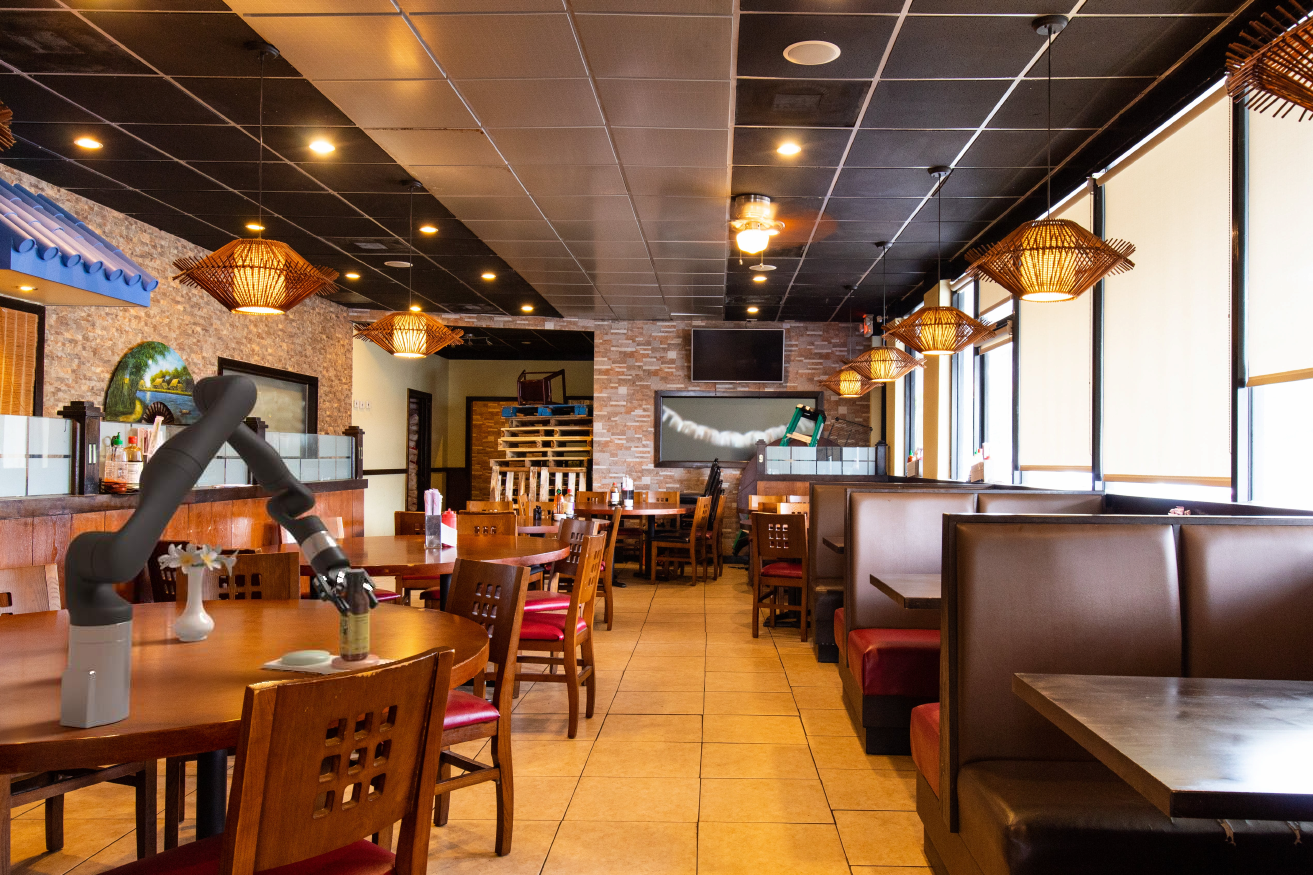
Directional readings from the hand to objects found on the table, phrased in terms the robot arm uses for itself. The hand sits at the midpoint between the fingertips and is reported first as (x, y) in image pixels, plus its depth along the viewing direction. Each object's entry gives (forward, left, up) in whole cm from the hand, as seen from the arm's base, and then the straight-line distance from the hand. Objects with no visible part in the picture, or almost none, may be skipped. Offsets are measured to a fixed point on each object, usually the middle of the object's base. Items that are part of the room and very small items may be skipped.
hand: (361, 609), depth 181 cm
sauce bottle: (0, +2, -11) cm, 11 cm away
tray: (0, +8, -13) cm, 15 cm away
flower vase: (+15, +60, -14) cm, 63 cm away
